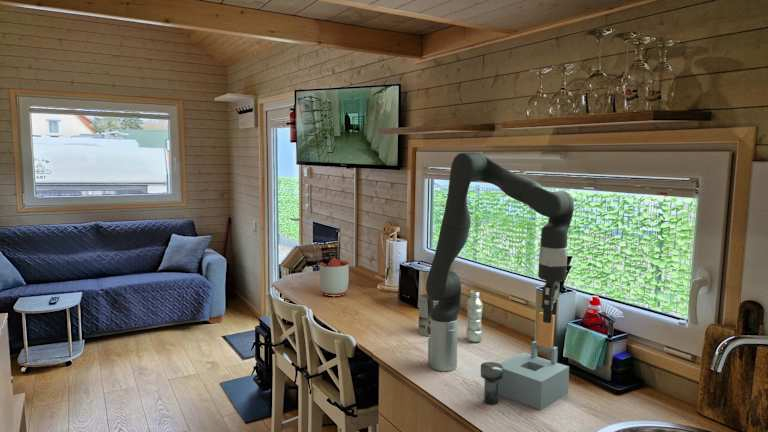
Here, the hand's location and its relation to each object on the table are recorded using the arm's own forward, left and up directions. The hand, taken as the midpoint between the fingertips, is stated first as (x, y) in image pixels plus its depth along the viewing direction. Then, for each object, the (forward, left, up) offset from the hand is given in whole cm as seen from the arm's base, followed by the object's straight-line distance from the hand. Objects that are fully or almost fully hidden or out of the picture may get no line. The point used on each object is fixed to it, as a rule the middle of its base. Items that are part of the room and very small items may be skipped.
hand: (549, 317), depth 151 cm
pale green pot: (-142, +32, -27) cm, 149 cm away
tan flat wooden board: (-8, +12, -9) cm, 18 cm away
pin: (-13, -9, -27) cm, 31 cm away
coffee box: (-66, +24, -27) cm, 76 cm away
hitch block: (-8, +5, -27) cm, 29 cm away
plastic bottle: (-48, +29, -27) cm, 63 cm away
